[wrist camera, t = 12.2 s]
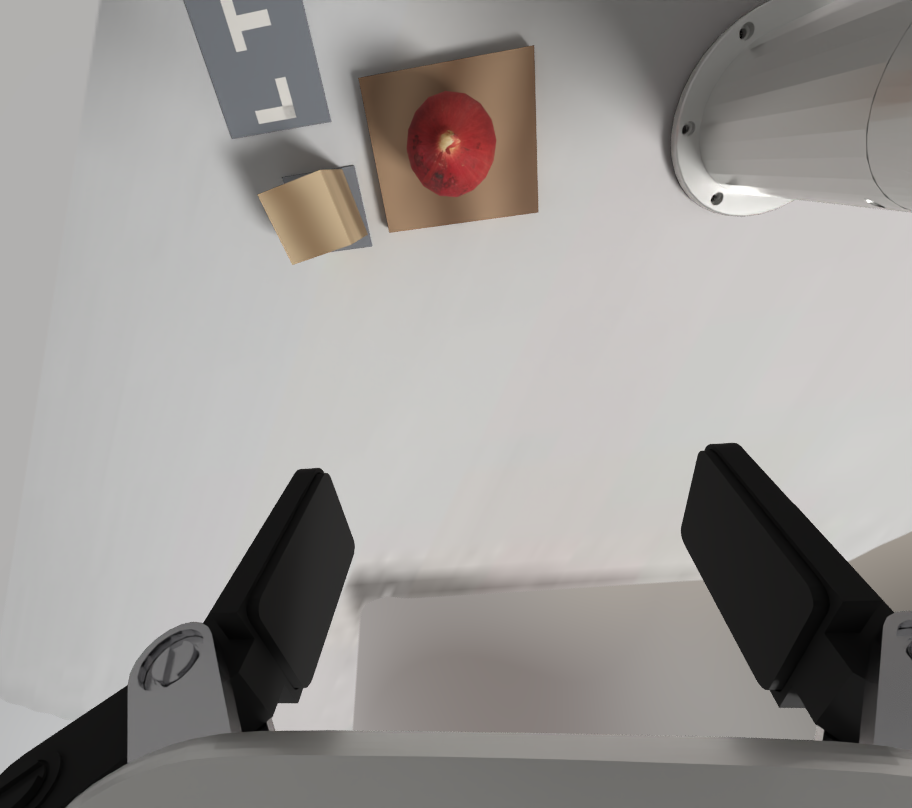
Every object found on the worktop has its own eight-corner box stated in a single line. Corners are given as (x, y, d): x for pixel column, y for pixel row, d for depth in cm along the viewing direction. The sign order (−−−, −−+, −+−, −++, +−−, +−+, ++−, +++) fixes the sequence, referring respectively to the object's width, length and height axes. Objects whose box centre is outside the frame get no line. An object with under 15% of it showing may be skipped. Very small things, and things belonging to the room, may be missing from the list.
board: (532, 49, 27) (534, 45, 26) (536, 210, 32) (538, 212, 31) (362, 81, 29) (358, 78, 28) (392, 230, 34) (389, 232, 33)
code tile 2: (354, 165, 31) (353, 165, 31) (372, 245, 34) (371, 246, 34) (283, 177, 32) (281, 177, 32) (306, 254, 35) (305, 255, 35)
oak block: (342, 169, 31) (320, 169, 27) (367, 234, 34) (351, 244, 30) (287, 190, 32) (257, 194, 28) (316, 252, 35) (292, 264, 31)
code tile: (296, -27, 26) (294, -28, 26) (331, 121, 30) (330, 121, 30) (184, -2, 27) (182, -3, 27) (233, 139, 31) (231, 138, 31)
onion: (470, 208, 31) (466, 220, 25) (403, 168, 30) (379, 169, 23) (509, 128, 29) (517, 117, 22) (437, 81, 27) (421, 53, 21)
